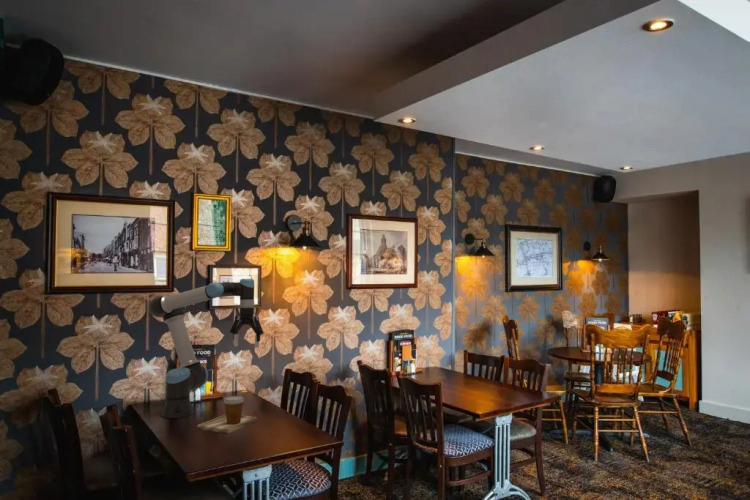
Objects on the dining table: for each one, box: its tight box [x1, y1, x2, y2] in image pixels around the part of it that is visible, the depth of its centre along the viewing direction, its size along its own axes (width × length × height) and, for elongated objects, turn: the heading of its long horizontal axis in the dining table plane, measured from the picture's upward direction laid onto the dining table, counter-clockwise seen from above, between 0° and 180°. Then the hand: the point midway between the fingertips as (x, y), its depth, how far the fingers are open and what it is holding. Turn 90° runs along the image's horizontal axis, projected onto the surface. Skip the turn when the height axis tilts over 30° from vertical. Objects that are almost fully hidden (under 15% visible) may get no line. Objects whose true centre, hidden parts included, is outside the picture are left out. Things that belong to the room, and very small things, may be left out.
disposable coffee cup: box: [223, 395, 245, 425], centre depth 250 cm, size 10×10×12 cm
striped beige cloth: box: [197, 413, 258, 435], centre depth 250 cm, size 18×22×2 cm
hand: (246, 346), depth 276 cm, fingers open, 13 cm apart
